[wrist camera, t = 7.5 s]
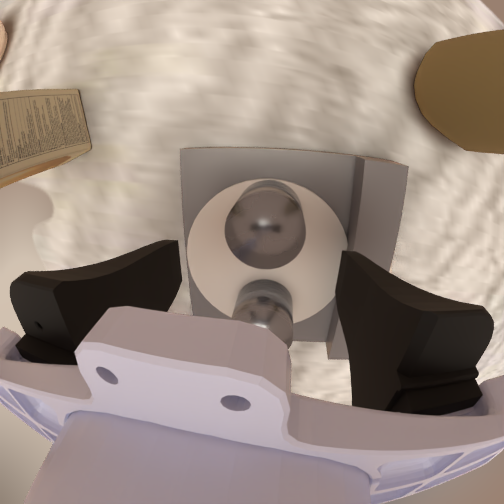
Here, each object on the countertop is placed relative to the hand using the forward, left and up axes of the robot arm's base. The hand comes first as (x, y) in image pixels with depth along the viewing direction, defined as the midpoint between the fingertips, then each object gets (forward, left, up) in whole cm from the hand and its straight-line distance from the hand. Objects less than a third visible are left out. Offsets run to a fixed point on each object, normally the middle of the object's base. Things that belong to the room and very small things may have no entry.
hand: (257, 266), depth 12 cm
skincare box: (+7, +18, -9) cm, 21 cm away
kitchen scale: (-4, -1, -9) cm, 10 cm away
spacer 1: (0, 0, -7) cm, 7 cm away
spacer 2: (-7, 0, -7) cm, 10 cm away
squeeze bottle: (+10, -13, -9) cm, 19 cm away
